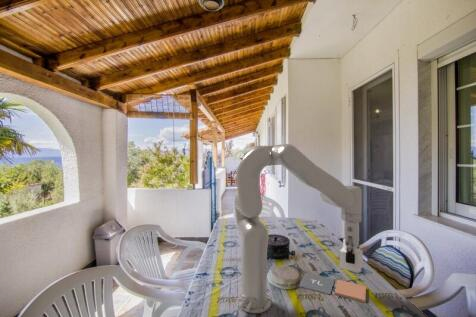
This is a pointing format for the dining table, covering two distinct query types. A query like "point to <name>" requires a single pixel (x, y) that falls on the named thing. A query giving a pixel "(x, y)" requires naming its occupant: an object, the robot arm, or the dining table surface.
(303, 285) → the tile
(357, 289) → the terracotta pad
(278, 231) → the dining table surface
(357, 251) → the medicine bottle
